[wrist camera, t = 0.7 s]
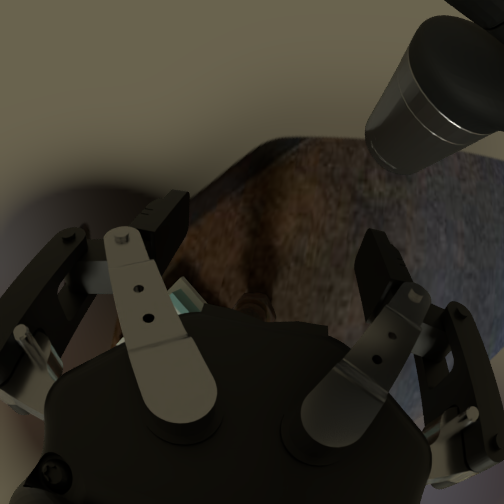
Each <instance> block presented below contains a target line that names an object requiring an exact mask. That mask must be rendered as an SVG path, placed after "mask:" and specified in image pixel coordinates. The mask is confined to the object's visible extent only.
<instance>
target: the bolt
mask: <svg viewBox="0 0 504 504" xmlns="http://www.w3.org/2000/svg"><path fill="white" fill-rule="evenodd" d="M232 309H235V310H237V311H239V312H242V313H244V314H247V315H249V316H252V317H254V318H257V319H259V320H262V321H264V322H274V321H275V319H276V315H275V312H274V309H273V307H272V304H271V302H270V300H269V298H268V296H267V295H265V294H263V293H262V294H261V293H258V292H256V293H244V294H243V295H242V297H241V298H240V299H239V300H238V302H237V303H236V304H235V306H234V307H233V308H232Z"/></svg>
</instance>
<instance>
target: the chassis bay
mask: <svg viewBox="0 0 504 504" xmlns="http://www.w3.org/2000/svg"><path fill="white" fill-rule="evenodd" d="M168 294H169V296H170V298H171V301H172V303H173V305H174V307H175V309H176V312H177V314H178V315H179V314H183V313H188V312H201V310H202V308H203V305H204V303H206V304H207V302H206V301H205V300H204V299H203V298H202V297H201V296H200V295H199V293H198V292H197V291H196V290H195V289H194V288H193V287H192V285H191V284H190V283H189V282H188V281H187V280H186V279H185V277H184V276H183V277H181V278H180V279H179V280H178V281H177V282H176V283H175V284H174V285H173V286H172V287H171V288H170V289H169V290H168ZM123 342H125V340H124V337H123V338H122V339H121V340H120V341H119V342H118V343H117V344H116V345H119V344H121V343H123Z"/></svg>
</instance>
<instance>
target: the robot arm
mask: <svg viewBox="0 0 504 504" xmlns="http://www.w3.org/2000/svg"><path fill="white" fill-rule="evenodd" d="M445 1H446V2H447V3H448V4H450V5H451V6H453V7H454V8H455V9H457V10H458V11H459V12H461V13H462V14H463V15H465V16H466V17H467V18H469V19H470V20H472V21H473V22H471V21H468V20H465V19H462V18H458V17H454V16H446V15H442V16H434V17H432V18H429V19H427V20H426V21H424V22H423V23H422V24H421V25H420V27H419V28H418V29H417V31H416V33H415V35H414V36H413V38H412V40H411V43H410V44H409V46H408V48H407V50H406V52H405V54H404V56H403V58H402V59H401V62H400V64H399V65H398V67H397V69H396V71H395V73H394V75H393V77H392V78H391V80H390V82H389V84H388V86H387V87H386V89H385V91H384V93H383V95H382V96H381V98H380V100H379V102H378V103H377V105H376V107H375V108H374V110H373V112H372V114H371V116H370V117H369V119H368V121H367V124H366V128H365V140H366V144H367V147H368V149H369V151H370V153H371V155H372V156H373V158H374V159H375V160H376V161H377V162H378V163H379V164H380V165H381V166H382V167H384V168H385V169H387V170H388V171H390V172H393V173H396V174H401V175H409V174H413V173H416V172H418V171H420V170H422V169H424V168H426V167H428V166H430V165H432V164H434V163H436V162H438V161H440V160H442V159H444V158H446V157H448V156H450V155H452V154H454V153H456V152H458V151H460V150H462V149H464V148H465V147H467V146H469V145H471V144H473V143H475V142H477V141H478V140H481V139H483V138H485V137H486V136H488V135H490V134H492V133H494V132H496V131H503V132H504V0H445ZM189 202H190V195H189V192H186V191H180V190H171V191H170V192H169V193H168V194H167V195H166V196H165V197H164V199H162V198H159V199H157V200H155V201H153V202H151V203H150V204H149V205H148V206H147V207H146V208H145V209H144V210H143V211H142V212H141V214H139V215H138V216H137V217H136V218H135V219H134V220H133V221H132V223H130V225H129V226H128V227H118V228H114V229H112V230H110V231H109V232H107V233H106V235H105V236H104V239H99V240H98V239H97V240H95V239H94V240H87V239H86V234H85V231H84V230H83V229H81V228H77V227H73V228H67V229H64V230H62V231H60V232H59V233H57V234H56V235H55V236H54V237H53V238H52V239H51V240H50V241H49V242H48V243H47V244H46V245H45V247H44V248H43V249H42V250H41V251H40V252H39V253H38V254H37V255H36V256H35V257H34V259H33V260H32V261H31V262H30V263H29V264H28V265H27V266H26V267H25V269H24V270H23V271H22V272H21V273H20V275H19V276H18V277H17V278H16V279H15V280H14V282H13V283H12V284H11V285H10V287H9V288H8V289H7V290H6V292H5V293H4V294H3V295H2V297H1V298H0V399H1V400H2V401H3V402H4V403H6V404H8V405H9V406H10V407H11V408H12V409H13V410H14V411H15V412H17V413H18V414H21V415H27V414H33V415H35V416H36V417H38V418H40V419H41V420H43V421H44V425H45V428H44V430H45V433H44V446H43V452H42V455H41V458H40V460H39V462H38V464H37V465H36V467H35V468H34V469H33V471H32V472H31V474H30V475H29V476H28V477H27V478H26V479H25V480H24V481H23V482H22V483H21V484H20V485H19V487H18V488H17V489H16V490H15V492H14V493H13V495H12V497H11V500H10V503H9V504H420V501H421V498H422V494H423V491H424V488H425V486H426V485H428V484H431V485H432V486H433V487H434V488H436V489H444V488H447V487H449V486H452V485H454V484H456V483H459V482H461V481H463V480H466V479H468V478H470V477H472V476H474V475H476V474H479V473H481V472H482V471H485V470H487V469H488V468H490V467H492V466H494V465H496V464H498V463H500V462H501V461H503V460H504V410H503V405H502V401H501V397H500V394H499V390H498V387H497V383H496V380H495V377H494V373H493V370H492V367H491V364H490V361H489V358H488V355H487V352H486V350H485V347H484V344H483V341H482V339H481V336H480V334H479V331H478V329H477V326H476V324H475V322H474V319H473V317H472V315H471V313H470V311H469V310H468V309H467V308H466V307H465V306H463V305H462V304H460V303H458V302H455V301H452V302H450V303H449V304H448V305H447V307H446V308H445V309H442V308H440V307H438V306H435V305H433V304H431V297H430V295H429V293H428V292H427V291H426V290H425V289H424V288H423V287H422V286H420V285H419V284H416V283H414V282H413V281H412V279H411V276H410V274H409V272H408V270H407V267H405V266H406V265H405V263H404V261H403V259H402V257H401V254H400V252H399V251H398V250H397V249H396V248H395V247H394V246H393V245H392V244H390V242H389V240H388V238H387V236H386V234H385V232H383V231H379V230H375V229H371V228H369V229H368V230H367V231H366V233H365V236H364V238H363V241H362V244H361V246H360V249H359V251H358V253H357V256H356V259H355V264H354V270H355V274H356V278H357V283H358V287H359V292H360V296H361V301H362V306H363V311H364V316H365V321H366V323H371V325H370V326H369V328H368V329H367V330H366V331H365V333H364V334H363V335H362V336H361V338H360V339H359V340H358V341H357V343H356V344H355V345H354V346H353V347H352V349H350V348H349V347H348V346H346V345H345V344H344V343H342V342H341V341H339V340H337V339H335V338H333V337H331V336H328V326H324V325H317V324H311V323H305V322H299V321H295V322H264V321H262V320H259V319H257V318H254V317H252V316H249V315H247V314H244V313H242V312H239V311H237V310H235V309H230V308H225V307H220V306H216V305H211V304H206V303H204V305H203V308H202V310H201V312H188V313H183V314H179V315H178V314H177V312H176V309H175V307H174V305H173V303H172V301H171V298H170V296H169V294H168V291H167V289H166V287H165V285H164V282H163V280H162V275H163V273H164V272H165V270H166V268H167V266H168V265H169V263H170V261H171V260H172V258H173V256H174V255H175V253H176V251H177V250H178V248H179V246H180V245H181V243H182V241H183V240H184V238H185V236H186V234H187V231H188V226H189ZM63 279H65V282H66V283H65V285H64V286H63V288H62V289H61V290H60V292H59V293H58V295H57V291H58V287H59V285H60V283H61V282H62V280H63ZM97 294H113V295H114V300H115V304H116V309H117V313H118V317H119V321H120V325H121V329H122V332H123V336H124V340H125V342H123V343H121V344H119V345H117V346H115V347H114V348H112V349H110V350H108V351H106V352H104V353H102V354H100V355H98V356H96V357H95V358H93V359H91V360H89V361H87V362H85V363H83V364H81V365H79V366H77V367H76V368H73V369H71V370H70V371H68V372H66V373H64V374H63V375H62V372H63V363H62V360H61V356H62V354H63V353H64V351H65V349H66V347H67V345H68V343H69V341H70V339H71V338H72V336H73V334H74V332H75V331H76V329H77V327H78V325H79V324H80V322H81V320H82V318H83V317H84V315H85V313H86V312H87V310H88V308H89V307H90V305H91V303H92V302H93V300H94V298H95V297H96V295H97ZM450 351H452V354H453V358H454V366H453V369H452V370H451V372H450V373H449V370H448V366H447V362H446V359H445V357H446V356H447V354H448V353H449V352H450ZM410 353H413V354H414V358H415V363H416V369H417V374H418V380H419V386H420V392H421V399H422V407H423V415H424V423H425V427H424V429H423V431H421V430H420V429H419V428H418V427H417V426H416V424H415V423H414V422H413V421H412V419H411V418H410V417H409V416H408V415H407V413H406V412H405V411H404V410H403V409H402V408H401V406H400V405H399V404H398V403H397V402H396V400H395V399H394V398H393V397H392V396H391V395H390V393H389V390H390V389H391V387H392V385H393V384H394V382H395V380H396V378H397V377H398V375H399V373H400V371H401V370H402V368H403V366H404V364H405V362H406V360H407V359H408V357H409V355H410Z"/></svg>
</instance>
